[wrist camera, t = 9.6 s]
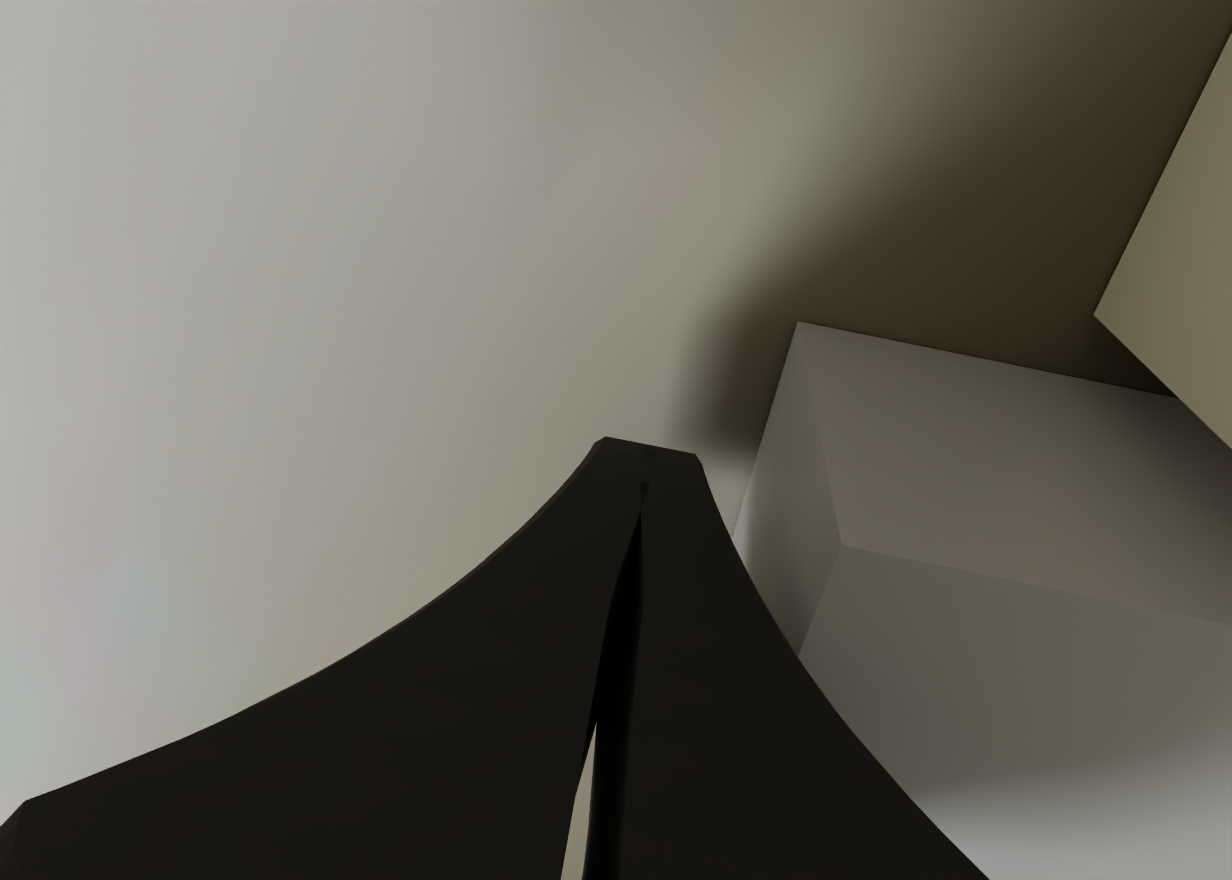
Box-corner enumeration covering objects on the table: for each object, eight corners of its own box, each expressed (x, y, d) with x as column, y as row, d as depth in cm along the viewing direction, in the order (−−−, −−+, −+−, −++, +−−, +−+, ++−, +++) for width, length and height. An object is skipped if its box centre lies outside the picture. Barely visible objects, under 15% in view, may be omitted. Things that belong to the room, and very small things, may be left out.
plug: (1129, 688, 12) (1312, 1020, 8) (712, 601, 12) (705, 891, 8) (1313, 425, 10) (1682, 718, 6) (797, 320, 10) (841, 544, 6)
